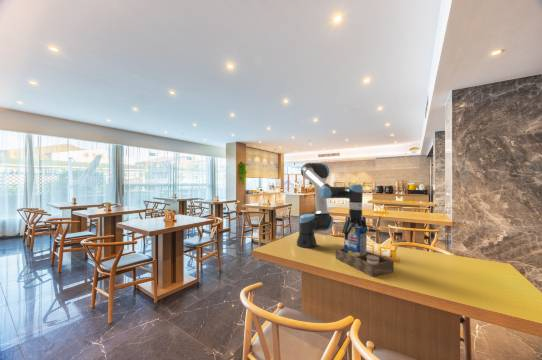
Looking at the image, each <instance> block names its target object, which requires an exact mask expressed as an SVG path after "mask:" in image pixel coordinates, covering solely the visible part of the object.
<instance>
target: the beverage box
mask: <svg viewBox="0 0 542 360" xmlns="http://www.w3.org/2000/svg"><path fill="white" fill-rule="evenodd" d="M367 229H368V226H367V227H364V226H359V225H358V224H354V226H353V227H352V229H351V230H350V232H349V235H350V239H349V246H348V245H346V244H345V235H344V240H343V241H344V243H343V246H344V247H343V248H344V252H345V253H347V254H350V255H352V256H354V257H355V256H361V255H366V251H367V237H368V236H367V233H368V231H367Z"/></svg>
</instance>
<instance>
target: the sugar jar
mask: <svg viewBox="0 0 542 360" xmlns="http://www.w3.org/2000/svg"><path fill="white" fill-rule="evenodd" d="M366 258H367V262H368V263H371V264H377V263H379V257H377V256H374V255H367V256H366Z"/></svg>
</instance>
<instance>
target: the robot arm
mask: <svg viewBox="0 0 542 360" xmlns="http://www.w3.org/2000/svg"><path fill="white" fill-rule="evenodd" d="M300 173H301V176H302V177H303V178H304V179H306V180H308V181H309V182H310V183H311V184H312V185H313V186H314V196H315V212H314V213H304V214H301V215H300V216H299V221H298V225H299V227H298V236H297V240H296V245H297V246H298V247H300V248H305V249H307V248H309V249H310V248H311V249H312V248H315V247H317V246H318V245H317V244H318V243H317V240H316V236H315V232H321V231H325V232H326V231H329V230H331V229H332V228H333V225H334V218H333V217H332V215H330V212H329V211H328V203H327V199H349V204H348V205H349V211H348V214H349V217H348V216H347V217H345V222H344V224H343V227H342V230H341V233H342V234H343V235H344V236H345V244H346V245H348V246H349V239H350V235H349V232H350V230H351V229H352V227H353V226H354V225H359V226H364V227H367V232H369V230H368V226H367V225H368V224H367V222H366V216H363V210H362V209H363V192H364V190H363V185H362V184H356V183H354V184H353V183H352V184H351V183H350V184H349V186H332V185H330V184H329V183H328V182H326V181H327V179H328V177H329V176H330V168H329V166H328V165H327V164H326V163H322V162H320V163H319V162H317V163H316V162H307V163H305V164H303V165H302V167H301V169H300Z"/></svg>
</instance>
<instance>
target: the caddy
mask: <svg viewBox="0 0 542 360" xmlns="http://www.w3.org/2000/svg"><path fill="white" fill-rule="evenodd" d="M367 255H374V256H377V257H379V263H377V264H371V263H368V262H367V258H366V256H367ZM335 259H336V260H338V261H340V262H341V263H344V264H346V265H347V266H350V267H352V268H354V269H356V270H358V271H360V272H361V273H364V274H366V275H368V276H370V277H372V278H373V277H378V276H383V275H386V274H392V273H394V267H395V265H394V263H395V261H394V260H392V259H388V258H387V257H383V256H381V255H378V254H376V253H373V252H370V251H367V250H366V255H361V256H355V257H354V256H352V255H350V254H347V253H345V252H344V247H343V248H337V249H335Z"/></svg>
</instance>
